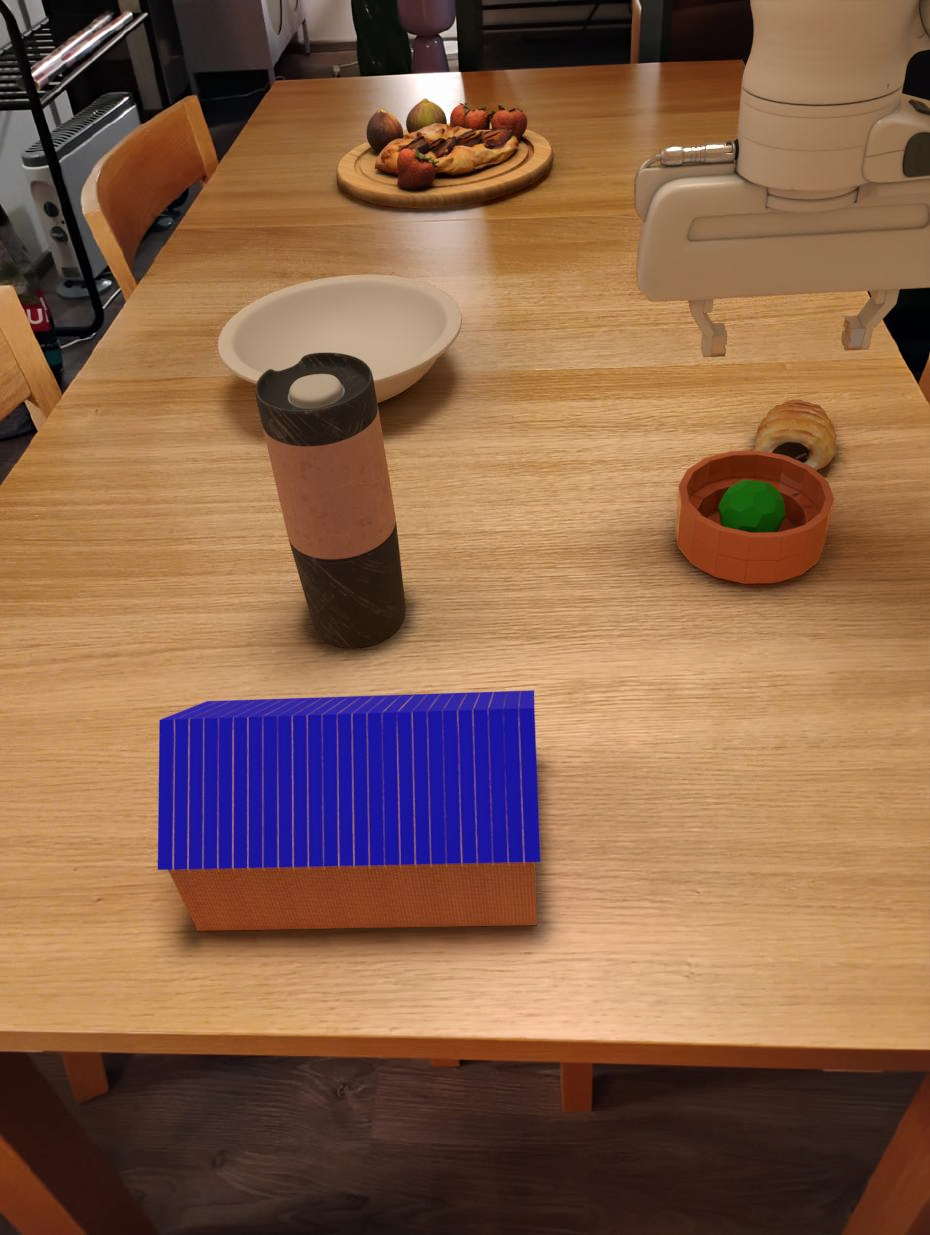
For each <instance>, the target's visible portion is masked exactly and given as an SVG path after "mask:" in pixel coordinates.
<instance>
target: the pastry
mask: <svg viewBox="0 0 930 1235" xmlns="http://www.w3.org/2000/svg"><path fill="white" fill-rule="evenodd" d="M754 441H755V442H754V448H753V450H752V451H757V450H758V451H764V452H770V453H775V454H780V455H786V456H789V457H791V458H793V459H796V460H798V461H800V462H802V463H805V464H807V465H809V466H811V467H812V468H814V469H815V470H816V471H818V470H821V469H823V468H824V467H826V466H827V465H828V464H829V463H830V462H831V461H832V459H833V458H834V457H835V455H836V453H837V449H836V448H837V447H836V446H837V445H836V444H837V443H836V441H837V433H836V430H835V426H834V424H833V423H832V420H831V418H829V416H828V414H827V412H826V411H825V409H824V408H822V406H821V405H820V404H817V403H812V402H809V401H804V400H802V399H790V400H786V401H784V402H783V403H781V404H776V405H775V406H774V407H773V408H772V409H770V410H769V411H768V412H767V414H766V416H765V417H763V418H762V419H761V421H760V423H759V425H758V426H757V430H756V433H755V440H754Z"/></svg>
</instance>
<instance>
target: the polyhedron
mask: <svg viewBox="0 0 930 1235" xmlns="http://www.w3.org/2000/svg"><path fill="white" fill-rule="evenodd" d="M718 511H719V517H720V522H721V525H722V526H723V527H728V528H732V529H737V530H741V531H746V532H751V533H761V532H777V531H778V530H779V528H780V526H781V524H782V522H783V520H784V519H785V514H786V513H785V507H784V501H783V498H782V496H781V493H780V492H779V491H778V490H777V489H776V488H775V487H774V486H773V485H771V484H770V483H767V482H761V481H752V480H742V481H740V482H738V483H736V484H734V485H733V486H731V487H730V488H729V489H728V490H727V491H726V492H725V494H724V496H723V498H722V500H721V502H720V504H719V507H718Z"/></svg>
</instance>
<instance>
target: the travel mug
mask: <svg viewBox="0 0 930 1235" xmlns="http://www.w3.org/2000/svg"><path fill="white" fill-rule="evenodd" d="M254 395H255V401H256V405H257V409H258V413H259V417H260V418H259V419H260V421H261V427H262V430H263V436H264V439H265V440H264V441H265V443H266V449H267V452H268V457H269V460H270V465H271V469H272V474H273V478H274V479H273V480H274V483H275V487H276V492H277V496H278V501H279V504H280V509H281V513H282V517H283V522H284V526H285V530H286V535H287V538H288V542H289V545H290V550H291V552H292V556H293V560H294V564H295V567H296V570H297V574H298V577H299V578H298V579H299V581H300V583H301V588H302V591H303V594H304V598H305V602H306V606H307V609H308V613H309V616H310V619H311V622H312V626H313V628H314V630H315V632H316V634H317V635H318V636H319V637H320V638H321V639H322V640H324V641H325V642H326V643H329V644H331V645H333V646H336V647H340V648H347V649H355V648H356V649H357V648H364V647H365V648H366V647H369V646H374V645H376V644H378V643H380V642H383V641H385V640H386V639H388V638H390V637H391V636H393V634H394V633H396V632H397V631H398V629H400V627H401V625H402V623H403V622H404V620H405V616H406V599H405V598H406V597H405V589H404V581H403V572H402V571H403V570H402V562H401V553H400V544H399V536H398V535H399V534H398V533H399V532H398V526H397V517H396V510H395V503H394V498H393V493H392V487H391V480H390V479H391V478H390V473H389V468H388V462H387V461H388V460H387V455H386V448H385V442H384V436H383V430H382V423H381V418H380V411H379V405H378V404H379V403H377V398H376V392H375V385H374V379H373V375H372V371H371V369H370V368H369V366H368V365H367V364H366V363H365V362H364V361H362V360H360V359H359V358H356V357H354V356H350V355H346V354H341V353H313V354H308V355H305V356H303V357H302V359H301V360H300V361H299V362H298V363H297V364H296V365H294V366H292V367H290V368H287V369H284V370H280V371H275V370H273V369H269V370H267V371H266V372H264V373H263V374H262V375H261V377H260V378H259V379H258V381H257V383H256V384H255V387H254Z"/></svg>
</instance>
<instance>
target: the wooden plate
mask: <svg viewBox="0 0 930 1235" xmlns="http://www.w3.org/2000/svg"><path fill="white" fill-rule="evenodd" d="M497 108H498V110H497V111H495V110H491V112H490V113H489V112H488V111H486V110H487V106H485V105H484V106H482V107H481V108H480V107H474V108H472V109H469V106H468V102H463V103H462V102H459V103H458V105H456V106H455V107H454V108H453V109H452V110H451V113H450V115H449V122H447V121H448V120H447V116H446V112H445V111H444V110H443V109H442V107H441V106H439V105H438V104H437V103H435V102H434V101H430V100H429V99H427V98H423V99H421V100H420V101H419V102H418V103H416V104H415V105H414V106H413V107H412V108H411V109H410V111H409V112H408V114H407V116H406V119H405V127H406V128H405V129H404V128H403V126H402V124H401V122H400V121H399V119H398V118H397V117H396V116H395V115H394V114H393V113H391V112H390V111H387V110H386V108H383V107H382V108H380V109H379V110H377V111H376V112H375V113H374V114H372V116H371V117H370V118H369V120H368V121H367V126H366V133H365V134H366V140H367V141H366V142H363V143H362V144H359V145H358V146H355V147H354V148H353V149H351V150H350V151H349V152H347V153H346V154H344V155H343V157H342V158H341V159H340V161H339V162H338V163H337V166H336V173H335V176H336V179H337V182H338V184H339V186H340V188H341V189H342V190H344V191H345V193H347V194H349V195H350V196H352V197H353V198H356V199H358V200H360V201H364V202H368V203H371V204H375V205H380V206H384V207H392V208H393V207H394V208H408V209H410V208H411V209H413V208H414V209H432V208H447V207H455V206H456V207H457V206H464V205H470V204H477V203H480V202H485V201H489V200H493V199H496V198H500V197H504V196H507V195H510V194H512V193H515V192H518V191H520V190H523V189H525V188H527V187H529V186H531V185H533V184H534V183H536V182H537V181H539V180H540V179H541V178H542V177H544V176H545V175H546V174H547V172H548V171H549V170H550V168H551V167H552V165H553V163H554V159H555V158H554V150H553V147H552V144H551V143H550V142H549V141H548V139H547V138H545V136H543V135H542V134H539V133H537V132H535V131H533V130H530V129H528V127H527V126H528V116H527V115H526V114H525V113H524V111H523V110H522V109H520V108H519V107H515V108H512V109H509V110H507V109H506V108H505V107H503V105H500V104H497Z"/></svg>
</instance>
